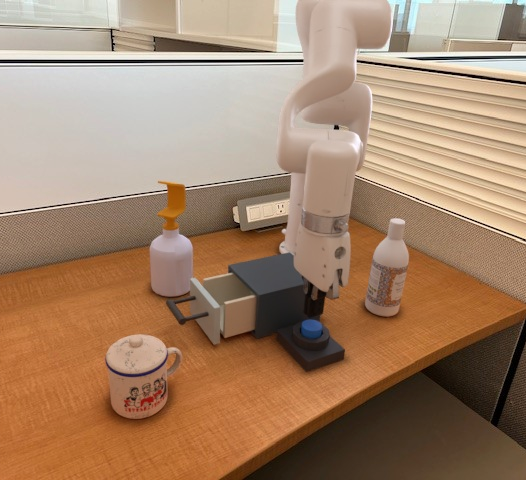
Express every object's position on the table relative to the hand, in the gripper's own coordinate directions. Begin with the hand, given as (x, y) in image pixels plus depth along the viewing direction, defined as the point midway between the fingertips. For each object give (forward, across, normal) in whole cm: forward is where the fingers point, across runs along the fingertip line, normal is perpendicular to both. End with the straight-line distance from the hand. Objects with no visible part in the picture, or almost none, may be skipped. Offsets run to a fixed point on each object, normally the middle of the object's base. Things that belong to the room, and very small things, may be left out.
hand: (313, 313), depth 85 cm
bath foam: (+8, +4, -22) cm, 23 cm away
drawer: (+7, +12, +12) cm, 19 cm away
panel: (+7, -1, 0) cm, 7 cm away
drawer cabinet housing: (+8, +12, 0) cm, 15 cm away
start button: (+4, -1, 0) cm, 4 cm away
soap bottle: (+8, +30, +15) cm, 35 cm away
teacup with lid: (+7, 0, +30) cm, 31 cm away
